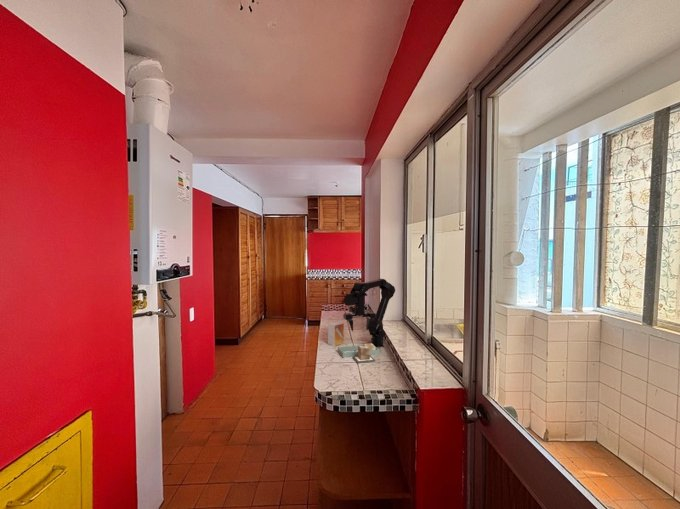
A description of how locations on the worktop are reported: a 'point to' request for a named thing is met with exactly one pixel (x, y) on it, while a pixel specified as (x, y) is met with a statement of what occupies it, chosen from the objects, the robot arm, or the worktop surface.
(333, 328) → the small box
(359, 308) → the robot arm
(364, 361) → the pad
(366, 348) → the walnut block
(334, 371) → the worktop surface
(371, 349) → the maple box
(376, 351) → the parts bin
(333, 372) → the worktop surface
